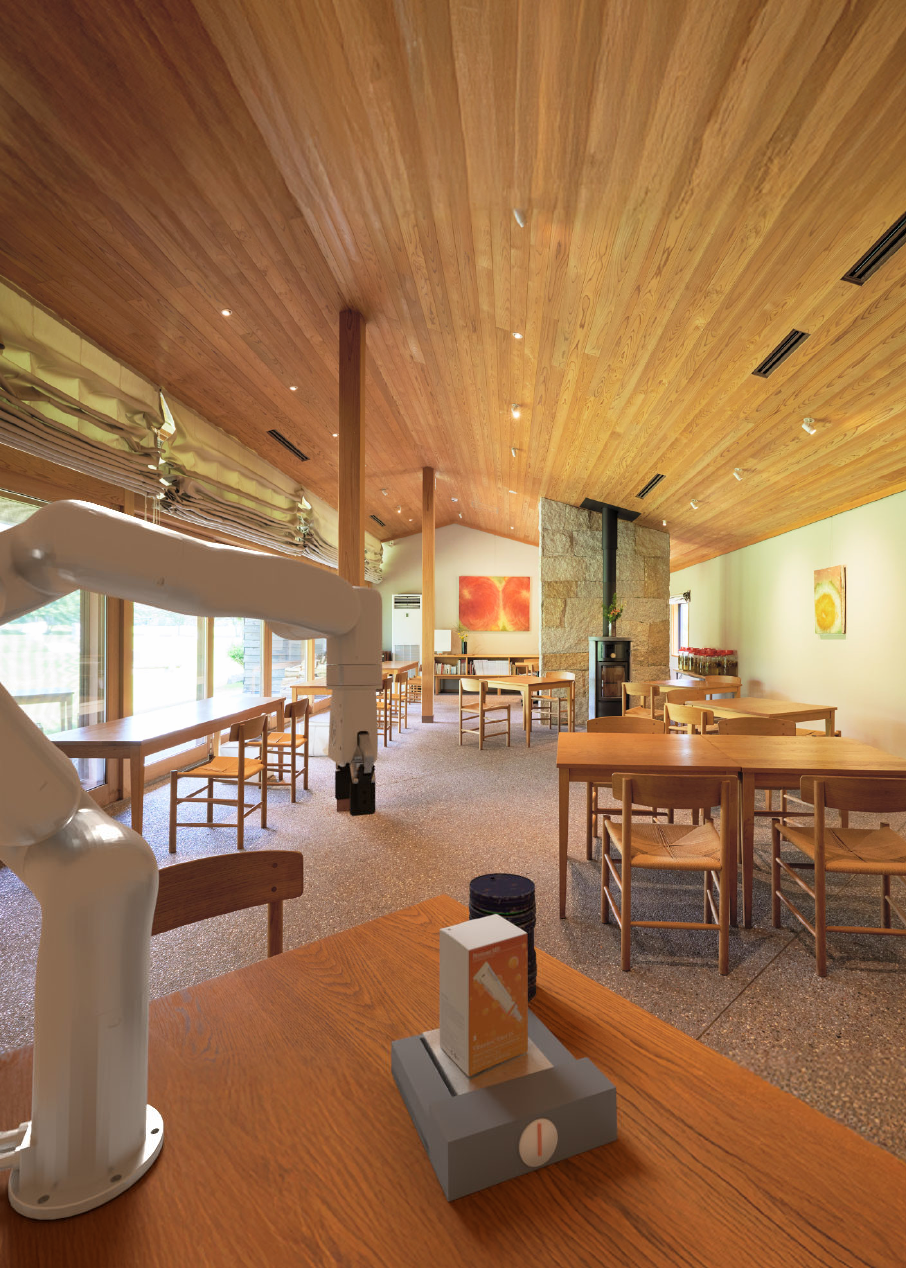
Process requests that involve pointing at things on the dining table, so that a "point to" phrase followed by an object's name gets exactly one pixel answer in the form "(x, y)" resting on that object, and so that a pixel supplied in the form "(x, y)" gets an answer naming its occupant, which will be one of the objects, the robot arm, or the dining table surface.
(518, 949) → the small box
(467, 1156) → the scale
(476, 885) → the navy cylindrical canister
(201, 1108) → the dining table surface
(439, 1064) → the pan
